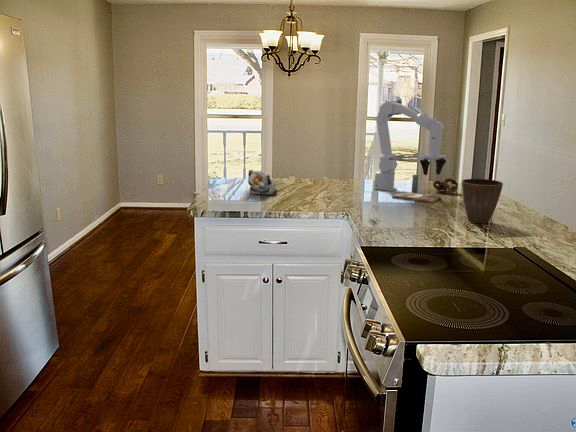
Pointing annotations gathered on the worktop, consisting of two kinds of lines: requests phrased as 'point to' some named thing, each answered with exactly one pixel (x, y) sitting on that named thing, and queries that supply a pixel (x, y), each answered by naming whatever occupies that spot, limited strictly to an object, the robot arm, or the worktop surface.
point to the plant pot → (480, 198)
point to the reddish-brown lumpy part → (446, 185)
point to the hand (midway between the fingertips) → (431, 174)
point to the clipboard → (417, 197)
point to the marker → (415, 183)
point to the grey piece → (261, 183)
